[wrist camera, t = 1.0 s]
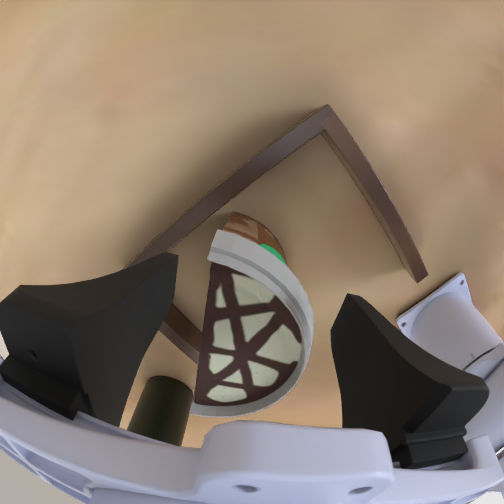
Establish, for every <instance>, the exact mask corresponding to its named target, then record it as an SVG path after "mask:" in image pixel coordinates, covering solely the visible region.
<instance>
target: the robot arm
mask: <svg viewBox="0 0 504 504" xmlns="http://www.w3.org/2000/svg"><path fill="white" fill-rule="evenodd" d="M178 256H179V255H175V254H171V253H167V252H163V253H160V254H158V255H156V256H153V257H151V258H149V259H147V260H145V261H142V262H140V263H138V264H136V265H133V266H131V267H128V268H126V269H123V270H121V271H118V272H116V273H113V274H110V275H106V276H103V277H99V278H96V279H92V280H86V281H81V282H76V283H69V284H60V285H20V286H19V287H17V288H16V289H15V290H14V291H13V292H12V293H11V294H9V295H8V296H7V297H6V298H5V299H4V300H3V301H2V302H0V331H1V334H2V337H3V339H4V342H5V344H6V347H7V350H8V352H9V355H8V357H7V358H6V359H5V360H4V359H3V358H2V357H1V355H0V449H1V450H2V451H3V452H5V453H6V454H7V455H8V456H10V457H11V458H13V459H14V460H15V461H16V462H18V463H19V464H21V465H22V466H23V467H25V468H26V469H28V470H29V471H31V472H32V473H33V474H35V475H36V476H38V477H40V478H41V479H43V480H44V481H46V482H47V483H49V484H51V485H52V486H54V487H56V488H57V489H59V490H61V491H62V492H64V493H66V494H68V495H70V496H72V497H73V498H75V499H77V500H79V501H81V502H83V503H85V504H469V503H471V502H472V501H474V500H475V499H477V498H479V497H480V496H482V495H483V494H485V493H486V492H499V493H501V494H502V496H503V498H504V450H503V451H502V452H500V453H499V454H497V455H496V454H495V453H496V452H497V451H499V450H500V449H501V448H502V447H504V342H503V341H502V339H501V338H500V337H499V335H498V334H497V333H496V332H495V330H494V329H493V328H492V327H491V326H490V324H489V323H488V322H487V321H486V319H485V318H484V317H483V316H482V315H481V314H480V312H479V311H478V310H477V309H476V308H475V307H474V305H473V304H472V300H471V297H470V293H469V289H468V286H467V282H466V279H465V276H464V274H463V273H458V274H457V275H455V276H454V277H453V278H452V279H450V280H449V281H448V282H446V283H445V284H444V285H442V286H441V287H440V288H438V289H437V290H436V291H434V292H433V293H432V294H430V295H429V296H428V297H426V298H425V299H423V300H422V301H421V302H419V303H418V304H416V305H415V306H413V307H412V308H410V309H409V310H407V311H406V312H405V313H403V314H402V315H400V316H399V317H398V318H397V319H396V322H397V324H398V326H399V328H400V329H401V331H402V333H401V332H400V331H399V330H398V329H397V328H396V327H395V326H393V325H392V324H391V323H390V322H389V321H388V320H387V319H386V318H385V317H384V316H383V315H381V314H380V313H379V312H378V311H377V310H376V309H375V308H374V307H373V306H372V305H371V304H369V303H368V302H367V301H366V300H365V299H363V298H362V297H361V296H358V295H353V294H348V293H347V295H346V297H345V300H344V302H343V304H342V306H341V309H340V311H339V313H338V315H337V318H336V320H335V322H334V324H333V326H332V328H331V347H332V354H333V359H334V364H335V368H336V373H337V378H338V383H339V387H340V393H341V401H342V426H343V428H330V427H314V426H302V425H292V424H283V423H275V422H267V421H250V420H236V421H232V422H228V423H224V424H219V425H217V426H214V427H213V428H212V429H211V430H210V431H209V432H208V433H207V434H206V435H205V436H204V440H203V445H202V447H201V448H191V447H181V446H176V445H172V444H168V443H165V442H161V441H158V440H154V439H151V438H148V437H145V436H142V435H139V434H136V433H133V432H130V431H127V430H124V429H122V428H119V425H120V421H121V418H122V414H123V411H124V408H125V405H126V402H127V399H128V396H129V393H130V390H131V387H132V384H133V382H134V379H135V376H136V374H137V371H138V369H139V366H140V363H141V361H142V359H143V357H144V355H145V353H146V351H147V349H148V347H149V345H150V344H151V342H152V340H153V338H154V337H155V335H156V333H157V331H158V330H159V328H160V326H161V324H162V322H163V321H164V319H165V317H166V315H167V313H168V311H169V308H170V306H171V303H172V301H173V298H174V292H175V282H176V273H177V264H178ZM461 281H462V282H461ZM460 282H461V283H460ZM404 322H405V323H404ZM402 323H404V324H402Z"/></svg>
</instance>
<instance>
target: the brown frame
mask: <svg viewBox="0 0 504 504" xmlns="http://www.w3.org/2000/svg"><path fill="white" fill-rule="evenodd" d="M320 133H321V134H322V135H323V137H324V138H325V139H326V141H327V142H328V144H329V145H330V146H331V148H332V149H333V151H334V152H335V153H336V155H337V156H338V158H339V159H340V160H341V162H342V163H343V165H344V166H345V168H346V169H347V171H348V172H349V174H350V175H351V177H352V178H353V180H354V181H355V183H356V184H357V186H358V188H359V189H360V191H361V192H362V194H363V195H364V197H365V199H366V200H367V202H368V203H369V205H370V207H371V208H372V210H373V212H374V213H375V215H376V217H377V218H378V220H379V222H380V223H381V225H382V227H383V229H384V230H385V232H386V234H387V236H388V238H389V239H390V241H391V243H392V245H393V247H394V248H395V250H396V252H397V254H398V256H399V258H400V260H401V262H402V264H403V265H404V267H405V269H406V270H407V272H408V273H409V274H410V275H411V277H412V278H413V279H414V280H415V282H416V283H418V282H420V281H421V280H422V279H424V278H425V277H426V276H428V272H427V270H426V268H425V266H424V263H423V261H422V259H421V257H420V255H419V252H418V250H417V248H416V246H415V244H414V242H413V240H412V238H411V236H410V234H409V232H408V230H407V228H406V226H405V224H404V222H403V220H402V218H401V216H400V215H399V213H398V211H397V209H396V207H395V205H394V204H393V202H392V200H391V198H390V196H389V195H388V193H387V191H386V190H385V188H384V186H383V184H382V183H381V181H380V179H379V178H378V176H377V174H376V173H375V171H374V170H373V168H372V166H371V165H370V163H369V162H368V160H367V158H366V157H365V155H364V154H363V152H362V151H361V149H360V148H359V146H358V145H357V143H356V142H355V140H354V139H353V137H352V136H351V134H350V133H349V132H348V130H347V129H346V127H345V126H344V125H343V123H342V122H341V120H340V119H339V118H338V116H337V115H336V114H335V112H334V111H333V110H332V108H331V107H330V106H329V105H328V104H327V105H325V106H322V107H320V108H319V109H317V110H316V111H314V112H313V113H311V114H310V115H309V116H307V117H306V118H304V119H303V120H302V121H300V122H299V123H297V124H296V125H295V126H293V127H292V128H290V129H289V130H288V131H286V132H285V133H283V134H282V135H281V136H279V137H278V138H277V139H275V140H274V141H273V142H271V143H270V144H269V145H267V146H266V147H265V148H263V149H262V150H261V151H259V152H258V153H257V154H255V155H254V156H253V157H252V158H250V159H249V160H248V161H246V162H245V163H244V164H243V165H241V166H240V167H239V168H238V169H236V170H235V171H234V172H233V173H231V174H230V175H229V176H228V177H226V178H225V179H224V180H223V181H221V182H220V183H219V184H218V185H216V186H215V187H214V188H213V189H212V190H210V191H209V192H208V193H207V194H206V195H204V196H203V197H202V198H201V199H200V200H198V201H197V202H196V203H195V204H194V205H193V206H191V207H190V208H189V209H188V210H187V211H186V212H184V213H183V214H182V215H181V216H180V217H179V218H178V219H176V220H175V221H174V222H173V223H172V224H171V225H170V226H168V227H167V228H166V229H165V230H164V231H163V232H162V233H161V234H160V235H158V236H157V237H156V238H155V239H154V240H153V241H152V242H151V243H150V244H149V245H148V246H146V247H145V248H144V249H143V250H142V251H141V252H140V253H139V254H138V255H137V256H136V257H135V258H134V259H133V260H132V261H130V262H129V263H128V264H127V265H126V266H125V267H124V268H123V269H126V268H128V267H131V266H133V265H136V264H138V263H140V262H142V261H145V260H147V259H149V258H151V257H153V256H156V255H158V254H160V253H163V252H168V251H169V250H170V249H171V248H172V247H174V246H175V245H176V244H177V243H178V242H179V241H181V240H182V239H183V238H184V237H185V236H187V235H188V234H189V233H190V232H191V231H193V230H194V229H195V228H196V227H198V226H199V225H200V224H201V223H202V222H204V221H205V220H206V219H207V218H209V217H210V216H211V215H212V214H214V213H215V212H216V211H217V210H219V209H220V208H221V207H222V206H224V205H225V204H226V203H227V202H229V201H230V200H231V199H232V198H234V197H235V196H236V195H238V194H239V193H240V192H241V191H243V190H244V189H245V188H247V187H248V186H249V185H250V184H252V183H253V182H254V181H256V180H257V179H258V178H260V177H261V176H262V175H264V174H265V173H266V172H267V171H269V170H270V169H271V168H273V167H274V166H275V165H277V164H278V163H280V162H281V161H282V160H284V159H285V158H286V157H288V156H289V155H290V154H292V153H293V152H294V151H296V150H297V149H299V148H300V147H301V146H303V145H304V144H306V143H307V142H308V141H310V140H311V139H313V138H314V137H315V136H317V135H318V134H320ZM123 269H122V270H123ZM159 331H160V332H161V333H162V334H164V335H165V336H166V337H167V338H168V339H169V340H170V341H171V342H172V343H173V344H175V345H176V346H177V347H178V348H179V349H180V350H181V351H182V352H184V353H185V354H186V355H187V356H188V357H189V358H191V359H192V360H193V361H194V362H195V363H196V364H198V362H199V351H200V344H201V337H202V333H201V332H200V331H199V330H198V329H197V328H196V327H195V326H194V325H193V324H192V323H191V322H190V321H189V320H188V319H187V318H186V317H185V316H183V315H182V314H181V313H180V312H179V311H178V310H177V309H176V308H175V307H174V306H173V305H172V304H171V306H170V308H169V311H168V313H167V315H166V317H165V319H164V321H163V322H162V324H161V326H160V328H159Z"/></svg>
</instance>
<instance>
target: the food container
mask: <svg viewBox="0 0 504 504" xmlns="http://www.w3.org/2000/svg"><path fill="white" fill-rule="evenodd" d="M207 260H208V261H212V265H211V269H210V282H209V289H208V295H207V302H206V309H205V316H204V324H203V330H202V337H201V344H200V351H199V362H198V370H197V379H196V388H195V392H194V396H193V400H192V404H191V408H190V412H189V414H192V415H198V416H204V417H235V416H243V415H247V414H251V413H255V412H258V411H260V410H263V409H266V408H268V407H270V406H271V405H273V404H275V403H277V402H278V401H280V400H281V399H282V398H284V397H285V396H286V395H287V394H288V393H289V392H290V391H291V390H292V389H293V388H294V387H295V385H296V384H297V382H298V380H299V379H300V377H301V375H302V373H303V372H304V370H305V368H306V365H307V363H308V360H309V357H310V352H311V346H312V340H313V331H314V320H313V311H312V308H311V305H310V302H309V299H308V296H307V294H306V292H305V290H304V289H303V287H302V285H301V283H300V281H299V280H298V279H297V278H296V276H295V275H294V274H293V273H292V272H291V270H290V269H289V268H288V266H287V263H286V259H285V255H284V253H283V250H282V247H281V246H280V244H279V242H278V240H277V239H276V238H275V236H274V235H273V234H272V233H271V232H270V231H269V230H268V229H267V228H266V227H265V226H264V225H263V224H261V223H259V222H258V221H256V220H255V219H253V218H251V217H248V216H246V215H244V214H240V213H236V212H233V213H232V214H231V216H230V218H229V220H228V221H227V223H226V225H225V226H224V228H223V230H219V229H217V232H216V234H215V237H214V239H213V242H212V245H211V249H210V253H209V255H208V257H207Z"/></svg>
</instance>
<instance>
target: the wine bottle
mask: <svg viewBox="0 0 504 504" xmlns="http://www.w3.org/2000/svg"><path fill="white" fill-rule="evenodd" d="M192 400H193V394H192V392H191V390H190V389H189V388H188V387H187V386H186V385H184V384H183V383H181V382H180V381H178V380H175V379H173V378H169V377H164V376H156V377H152V378H150V379H149V380H148V381H147V383H146V385H145V387H144V390H143V392H142V394H141V397H140V399H139V402H138V404H137V406H136V409H135V411H134V414H133V416H132V419H131V421H130V423H129V426H128V428H127V431H130V432H133V433H136V434H139V435H142V436H145V437H148V438H151V439H154V440H158V441H161V442H165V443H168V444H172V445H176V446H181V444H182V440H183V437H184V433H185V429H186V425H187V421H188V417H189V412H190V408H191V404H192Z"/></svg>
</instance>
